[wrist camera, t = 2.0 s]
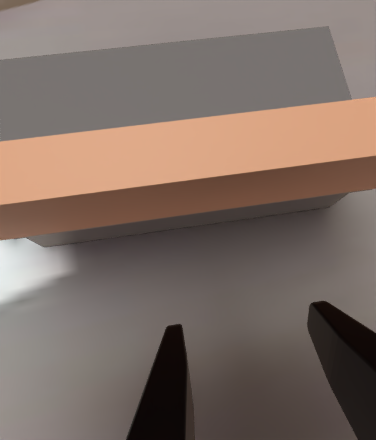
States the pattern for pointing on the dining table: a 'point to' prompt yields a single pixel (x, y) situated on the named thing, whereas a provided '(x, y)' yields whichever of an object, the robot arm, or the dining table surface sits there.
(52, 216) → the lid
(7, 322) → the dining table surface
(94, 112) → the cable box
